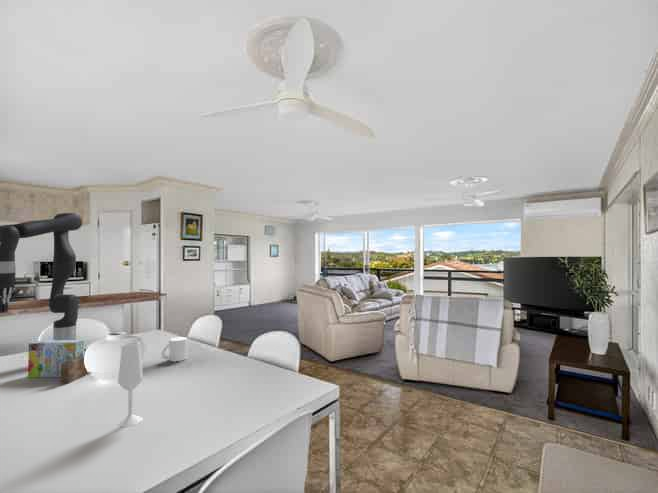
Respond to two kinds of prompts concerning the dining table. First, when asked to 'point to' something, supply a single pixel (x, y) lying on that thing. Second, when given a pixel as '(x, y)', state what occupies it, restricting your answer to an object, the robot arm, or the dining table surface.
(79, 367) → the block
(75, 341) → the snack box
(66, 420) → the dining table surface
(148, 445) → the dining table surface
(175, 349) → the mug
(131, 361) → the champagne flute
